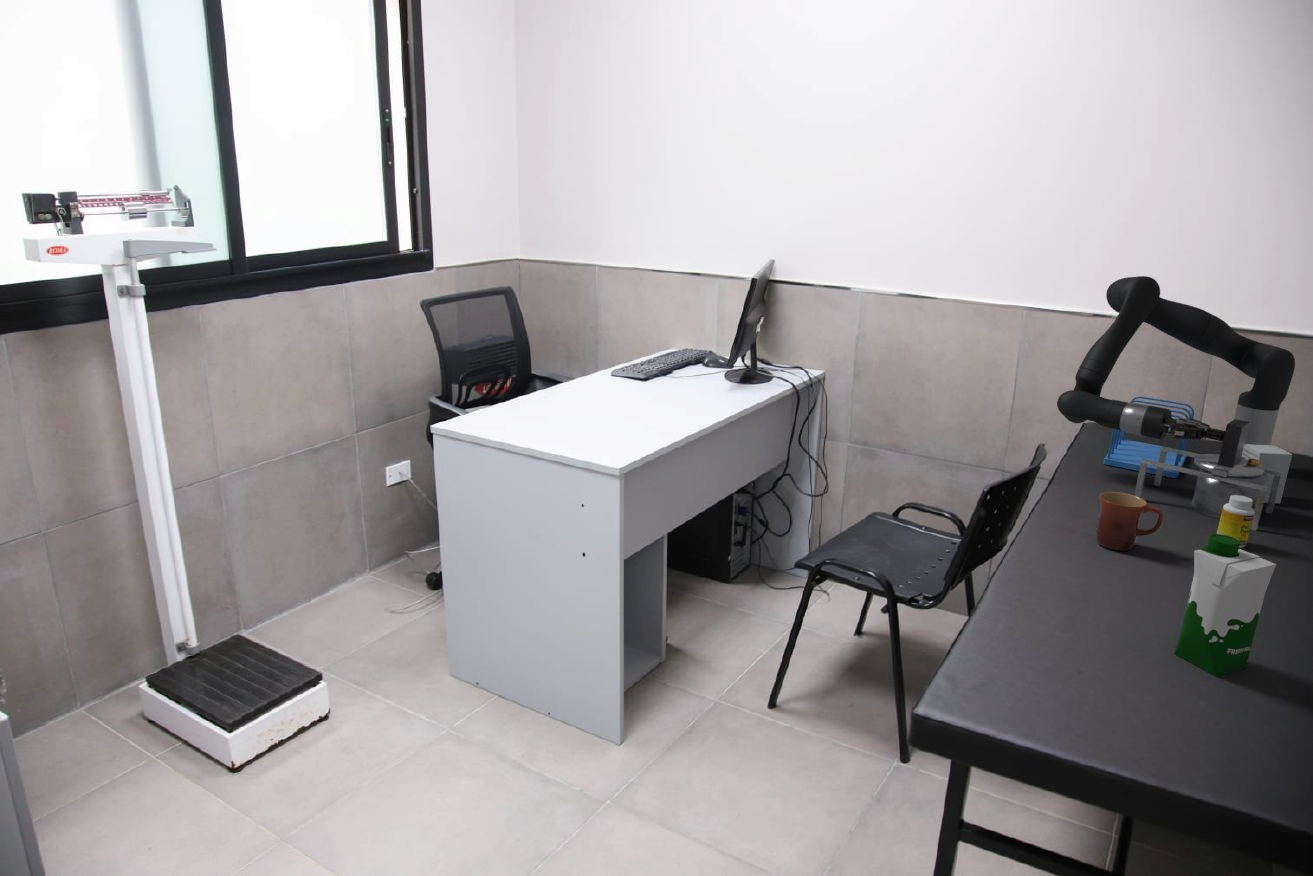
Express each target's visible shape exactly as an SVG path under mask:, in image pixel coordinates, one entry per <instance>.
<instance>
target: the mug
mask: <svg viewBox="0 0 1313 876" xmlns="http://www.w3.org/2000/svg"><path fill="white" fill-rule="evenodd" d="M1098 498H1099V503H1100V505H1099V506H1100V507H1099V509H1100V511H1099V517H1098V521H1097V525H1096V529H1095V541H1096V542H1097V544H1098V545H1100V547H1103V548H1105V549H1108V550H1111V551H1117V552H1126V551H1128V550H1131V549H1133V548H1134V545H1135V544H1136V541H1137V537H1141V536H1142V537H1143V536H1148V535H1152V534H1154V533H1155V532H1156V531H1158V530H1159V529H1160V527H1161V526H1162V523H1163V520H1164V513H1163V511H1162V509H1160V508H1159V507H1156V506H1152V505H1148V503H1147V500H1145V499H1144V498H1142V497H1141V498H1139V497H1137V496H1134V495H1133V494H1130V493H1125V492H1118V491H1104V492H1101V493H1099V495H1098ZM1148 512H1155V513H1157V514H1158V515H1157V519H1156V521H1155V523H1154V525H1153V526H1152V527H1150V528H1145V529H1143V528H1139V527H1140V525H1139V524H1140V520H1141V517H1142V516H1143V514H1145V513H1148Z"/></svg>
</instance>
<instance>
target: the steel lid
mask: <svg viewBox="0 0 1313 876" xmlns="http://www.w3.org/2000/svg"><path fill="white" fill-rule="evenodd" d="M1249 423H1250V422H1247V421H1242V420H1236V419H1234V418H1233V420H1232V421H1230V422H1228V423H1227V424H1226V426H1225V430H1224V431H1225V434H1224V439H1223V441H1222V443H1221V448H1220V453H1217V454H1216V453H1202V454H1200V453H1199V454H1200V455H1196V456H1195V458H1194V457H1193V458H1194V460H1193V465H1195V467H1198V468H1199V469H1200V468H1201V469H1204V470H1206V471H1209V472H1211V474H1214V475H1218V476H1223V477H1227V476H1232V477H1240V478H1257V477H1261V476H1263V473H1264V467H1263V466H1261V465H1259V464H1258V462H1259V460H1257V459H1252V458H1249V459H1248V460H1246V459H1245V457H1242V452H1243V448H1244V444H1245V440H1246V436H1247V432H1248V428H1249Z"/></svg>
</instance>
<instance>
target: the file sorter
mask: <svg viewBox="0 0 1313 876" xmlns="http://www.w3.org/2000/svg"><path fill="white" fill-rule="evenodd" d="M1139 399H1141V400H1139ZM1145 400H1146V401H1145ZM1147 400H1149V401H1147ZM1153 401H1154V402H1153ZM1155 401H1156V402H1155ZM1159 402H1160V403H1159ZM1128 403H1139V404H1145V405H1151V406H1153V405H1154V406H1158V407H1164V408H1168V409H1169V408H1173V409H1169V410H1170V411H1171V414H1172V413H1173V414H1172V415H1171V417H1172V418H1176V419H1179V418H1183V416H1184V417H1185V418H1186V419H1187V420H1189V419H1194V415H1195V410H1194V408H1193V407H1192V406H1191V405H1190V404H1188V403H1185V402H1178V401H1173V400H1168V399H1162V398H1161V399H1160V398H1155V397H1147V396H1136V397H1133V398H1132V399H1131V400H1130V402H1128ZM1164 403H1166V404H1164ZM1167 403H1168V404H1167ZM1171 404H1175V405H1171ZM1177 405H1180V406H1177ZM1184 406H1185V407H1184ZM1186 407H1187V408H1186ZM1188 408H1189V409H1190V410H1189V409H1188ZM1176 409H1178V410H1176ZM1181 410H1183V411H1185V412H1183V411H1181ZM1175 413H1176V414H1175ZM1186 413H1187V414H1186ZM1178 414H1180V415H1178ZM1181 415H1183V416H1181ZM1125 436H1126V432H1125V431H1122V430H1117V429H1112V433H1111V438H1110V443H1109V449H1108V453H1107V454H1106V456H1104V459H1103V462H1102V464H1103V465H1105V466H1106V465H1107V466H1111V467H1116V468H1123V469H1128V470H1133V471H1137V472H1139V470H1140V465H1141V460H1142V459H1147V460H1151V461H1156V462H1158V461H1159V457H1160V452H1161V448H1162V447H1163V446H1162V445H1157V444H1150V443H1146V442H1141V441H1135V440H1130V439H1125ZM1188 440H1189V439H1180V438H1179V444H1178V447H1177V448H1176V449H1177V450H1182V451H1187V452H1189V451H1188V450H1186V449H1187V445H1188ZM1187 457H1188V456H1185V455H1180V454H1176V453H1171V452H1167V456H1166V460H1165V464H1169V465H1173V466H1178V467H1182V468H1183V466H1184V464H1185V462H1186V459H1187ZM1156 471H1157V466H1153V465H1149V464H1148V466H1147V470H1146V474H1152V475H1156ZM1179 474H1180V472H1179V471H1175V470H1171V469H1166V468H1164V470H1163V474H1162V477H1165V476H1166V478H1170V477H1171V479H1178V476H1179Z"/></svg>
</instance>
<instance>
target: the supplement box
mask: <svg viewBox="0 0 1313 876" xmlns="http://www.w3.org/2000/svg"><path fill="white" fill-rule="evenodd" d="M1242 457H1245V459H1246V460H1248V459H1249V458H1252V459H1257V460H1259V462H1258V464H1259V465H1261V466H1263V467H1264V468H1266V469H1271V470H1276V471H1280V472H1282V477H1281V481H1280V484H1279V488H1278V492H1277V496H1276V500H1275V504H1281V502H1282V497H1283V493H1284V489H1285V486H1286V481H1287V478H1288V473H1289V469H1290V466H1291V461H1292V457H1293V453H1291V452H1288V451H1286V450H1285V449H1282V448H1281V447H1278V446H1276V445H1272V444H1270V445H1253V444H1244V448H1243V452H1242ZM1265 474H1266V475H1267V481H1266V485H1265V486H1266V487H1267V492H1266V496H1265V500H1264V504H1267V503H1268V499H1269V495H1270V491H1271V487H1272V483H1273V479H1274V475H1273V474H1268V473H1265Z"/></svg>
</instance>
